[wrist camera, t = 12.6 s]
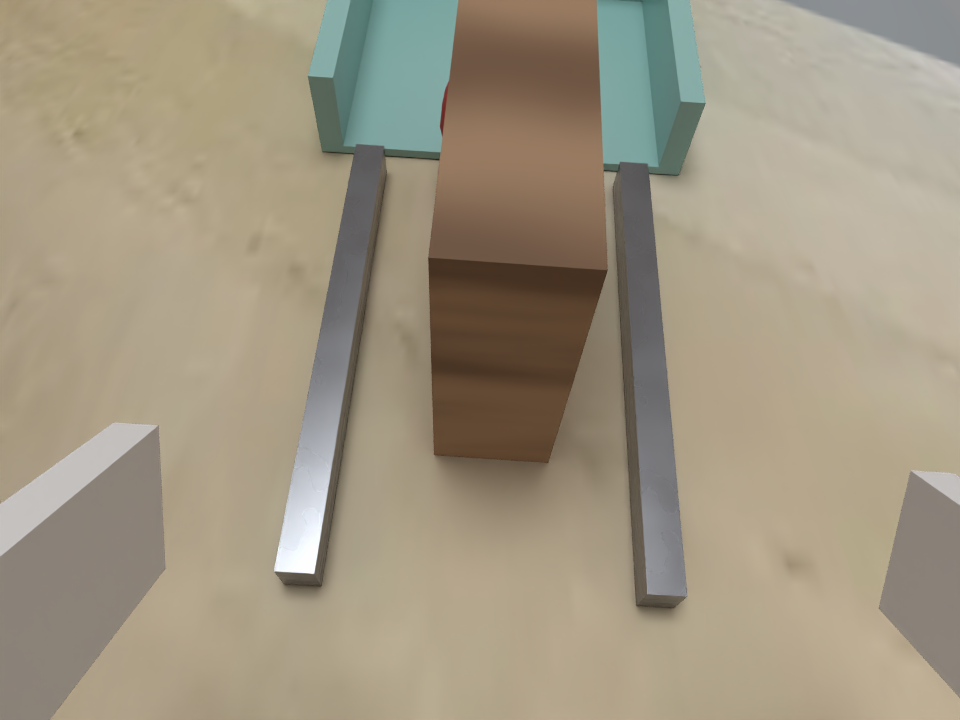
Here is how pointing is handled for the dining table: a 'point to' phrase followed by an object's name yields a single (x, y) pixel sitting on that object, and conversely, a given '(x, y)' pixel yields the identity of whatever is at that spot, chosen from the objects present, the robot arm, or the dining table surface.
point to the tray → (426, 69)
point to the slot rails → (642, 373)
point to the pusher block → (515, 225)
